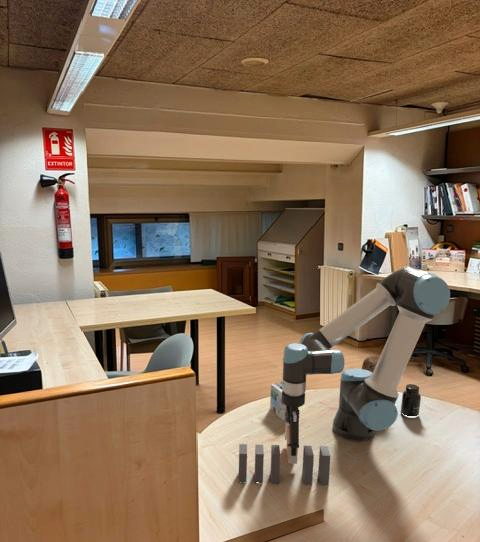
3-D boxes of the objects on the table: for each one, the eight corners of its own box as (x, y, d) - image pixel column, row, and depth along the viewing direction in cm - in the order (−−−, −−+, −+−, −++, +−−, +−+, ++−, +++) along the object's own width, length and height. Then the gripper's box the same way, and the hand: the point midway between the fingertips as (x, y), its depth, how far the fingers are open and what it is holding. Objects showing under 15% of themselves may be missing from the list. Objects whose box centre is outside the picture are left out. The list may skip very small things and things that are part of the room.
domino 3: (278, 473, 143) (279, 445, 141) (279, 484, 138) (280, 454, 136) (270, 473, 143) (271, 444, 141) (271, 483, 138) (272, 454, 136)
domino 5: (309, 474, 143) (311, 445, 141) (312, 484, 138) (313, 455, 136) (302, 474, 143) (303, 445, 141) (304, 484, 138) (305, 455, 136)
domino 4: (293, 452, 154) (294, 425, 152) (295, 461, 150) (296, 433, 148) (286, 452, 154) (287, 425, 152) (287, 461, 150) (288, 433, 148)
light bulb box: (269, 408, 183) (270, 383, 181) (283, 405, 186) (284, 380, 184) (283, 421, 174) (284, 395, 172) (298, 417, 177) (299, 391, 175)
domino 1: (246, 472, 143) (247, 444, 141) (246, 483, 138) (247, 453, 136) (238, 472, 143) (239, 444, 141) (238, 483, 138) (239, 453, 136)
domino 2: (262, 473, 143) (263, 444, 141) (262, 483, 138) (263, 454, 136) (254, 472, 143) (255, 444, 141) (254, 483, 138) (255, 454, 136)
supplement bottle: (416, 420, 176) (419, 392, 173) (398, 415, 179) (401, 387, 177) (420, 413, 182) (423, 385, 179) (402, 408, 185) (405, 381, 183)
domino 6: (325, 474, 143) (327, 446, 141) (328, 485, 138) (330, 455, 136) (318, 474, 143) (319, 445, 141) (320, 485, 138) (322, 455, 136)
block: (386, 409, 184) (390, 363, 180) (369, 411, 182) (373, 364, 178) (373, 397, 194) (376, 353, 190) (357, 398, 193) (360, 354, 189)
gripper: (279, 374, 159) (276, 430, 164) (285, 410, 135) (282, 474, 140) (300, 375, 159) (297, 431, 164) (310, 410, 135) (306, 474, 140)
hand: (290, 451), depth 152 cm, fingers open, 12 cm apart
